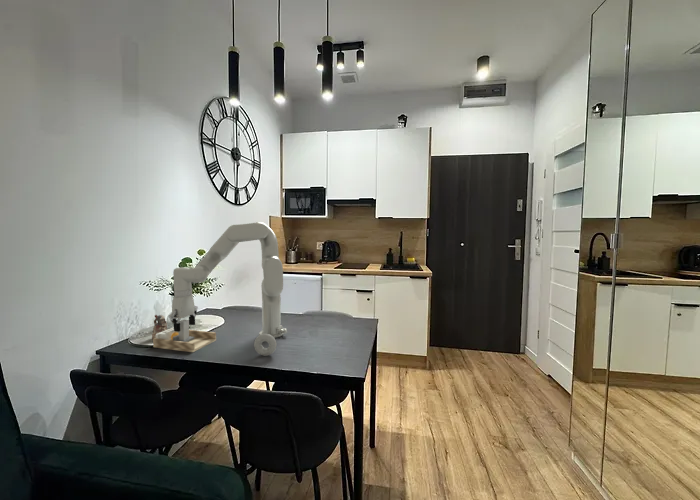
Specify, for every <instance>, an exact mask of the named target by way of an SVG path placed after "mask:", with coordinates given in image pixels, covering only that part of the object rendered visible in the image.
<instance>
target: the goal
mask: <svg viewBox="0 0 700 500" xmlns="http://www.w3.org/2000/svg"><path fill="white" fill-rule="evenodd" d="M175 332H178V331H174V326H173V327H171V328H167V330H165V331H163V332H160V333H157V334H156V338H158V339H166V340H170V339H171V335H172V334H173V333H175Z"/></svg>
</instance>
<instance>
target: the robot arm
mask: <svg viewBox="0 0 700 500" xmlns="http://www.w3.org/2000/svg"><path fill="white" fill-rule="evenodd" d="M258 240H259V242H260V247H261V249H260V250H261V267H262V273H263V279H262V280H261V281H262V282H261V286H260V287H261V324H262V326H261V330H260V331H259V333H258V336H259V335H261V334H270V335H272V336H273V337H274V338H275V339H276V338H279V337H282V336H283V335H284V334H287V333H288V328H287V327H286V328H284V327H283V325H281V323H282V321H281V318H282V317H281V315H282V314H281V313H282V311H281V304H282V303H281V302H282V301H281V299H282V298H281V294H282V292H283V290H284V269H283V268H284V267H283V263H282V260H281V259H280V258H279V242H278V238H277V236H276V233H275V232H274V231H273V230H272V228H270V227H269V225H267V224H266V223H264V222H261V221H257V222H256V221H255V222H251V223H241V224H231V225H230V226H228V228H227V229H226V230H225V231H224V232H223V233H222V234H221V235H220V237H219V238H218V239H217V240H216V241H215V242H214V243H213V245H211V246H210V249H208V251H207V253H206V254H205V256H203V258H202V259H201V260H200V261H199V262H198V263H197V264H196V266H195V267H193V268H192V267H191V268H190V267H189V266H188V267H187V266H182V267H180V266H179V267H176V268H174V269H173V271H172V272H173V274H172V275H173V292H174V297H173V299H172V301H171V302H172V303H171V304H172V305H171V313H170V314H169V316H168V318H169V320H170V322H172V324H173V327H174V331H178V332H179V331H180V323H179V321H181V319H183V318H187V317H188V320H189V326H196V316H197V315H196V314H197V312H198V309H199V307H198V306H196V305H195V300H194V296H193V289H192V288H193V287H192V286H193V285H192V283H195V284H196V283H197V284H198V283H203V282H205V281H206V280H207V279H208V277H209V275H210V274H211V273H212V272H213V271H214V270H215V268H216V267H217V266H218V265H219V264H220V263H221V262H222V261H224V260H225V259H226V258H227V257H228V255H230V253H232V251H233V250H234V249H235V248H236V246H237V245H238V244H239V243H243V242H251V241H258Z"/></svg>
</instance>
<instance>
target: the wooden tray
mask: <svg viewBox="0 0 700 500" xmlns="http://www.w3.org/2000/svg"><path fill="white" fill-rule="evenodd" d="M189 336H191V337H194V339H193V340H191V341H189V342H182V341H174V340H172V339H170V340H166V339H158V338H154V339H152V341H153V342H152V343H153V345H152V346H153V348H156V349H157V348H158V349H164V350H171V351H172V350H173V351H180V352H189V353H194V352H196V351H199V350H200V349H203V348H205V347H206V346H208V345H210V344H212V343H214V342H216V341H217V333H216V332H213V331H204V330H195V329H189Z"/></svg>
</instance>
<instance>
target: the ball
mask: <svg viewBox="0 0 700 500" xmlns="http://www.w3.org/2000/svg"><path fill="white" fill-rule="evenodd" d="M177 335H179V333H178V332H175V333H173V334H172V335H171V339H172V340H173V337H174V336H177Z"/></svg>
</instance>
